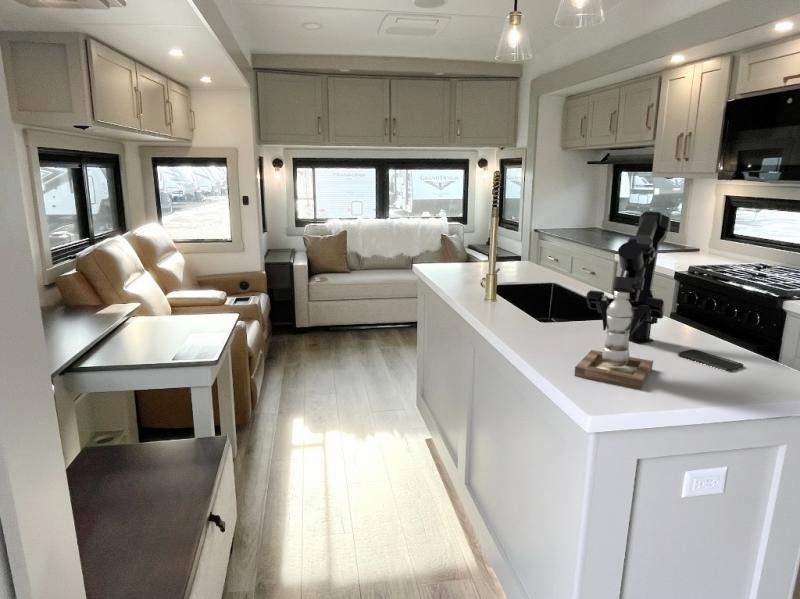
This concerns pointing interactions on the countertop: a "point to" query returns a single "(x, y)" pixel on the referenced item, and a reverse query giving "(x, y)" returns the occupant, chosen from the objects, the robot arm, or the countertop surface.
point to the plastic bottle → (618, 330)
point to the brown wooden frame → (614, 370)
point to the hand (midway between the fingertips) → (617, 331)
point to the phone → (710, 360)
